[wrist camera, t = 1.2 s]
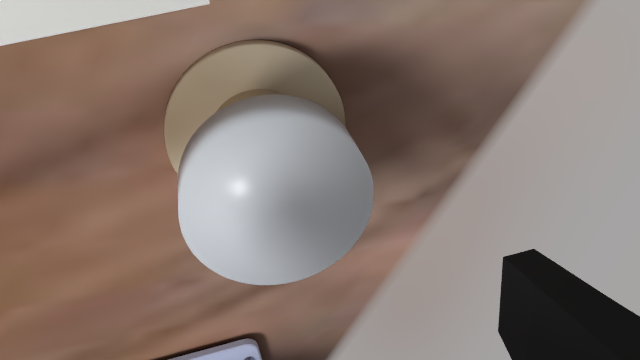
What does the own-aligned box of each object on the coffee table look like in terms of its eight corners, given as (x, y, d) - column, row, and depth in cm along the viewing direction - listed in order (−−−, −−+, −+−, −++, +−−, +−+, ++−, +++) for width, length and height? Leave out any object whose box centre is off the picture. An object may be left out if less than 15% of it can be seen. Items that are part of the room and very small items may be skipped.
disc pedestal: (349, 179, 21) (378, 234, 18) (191, 217, 20) (194, 281, 17) (329, 22, 18) (360, 58, 15) (139, 62, 17) (133, 107, 14)
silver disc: (365, 227, 18) (381, 258, 16) (204, 268, 17) (206, 304, 16) (347, 75, 15) (364, 98, 13) (153, 118, 14) (151, 147, 13)
